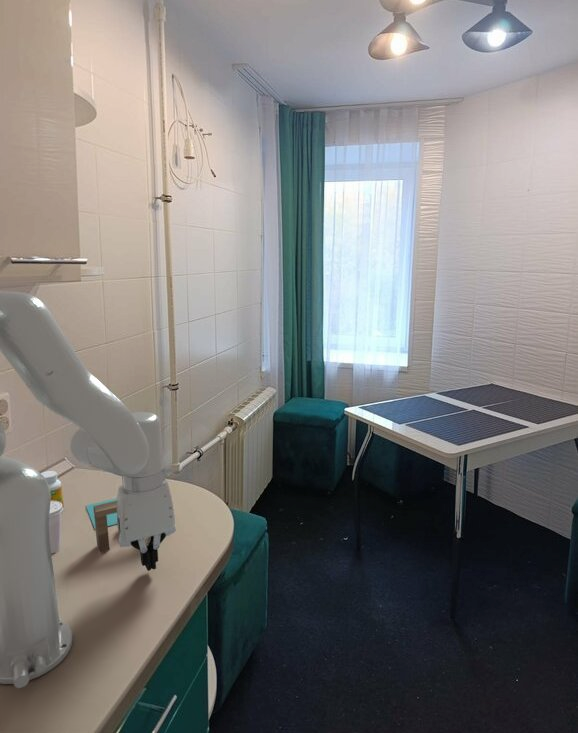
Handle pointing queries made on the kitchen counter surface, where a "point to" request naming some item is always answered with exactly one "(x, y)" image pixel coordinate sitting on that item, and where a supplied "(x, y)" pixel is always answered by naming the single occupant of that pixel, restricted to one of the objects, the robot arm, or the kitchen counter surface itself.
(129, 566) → the kitchen counter surface
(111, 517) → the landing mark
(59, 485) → the supplement bottle
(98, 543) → the bridge
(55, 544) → the smoothie
